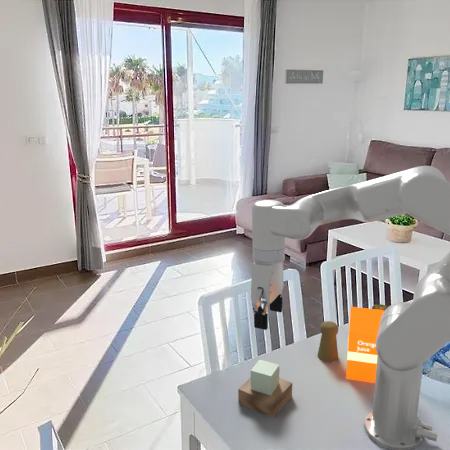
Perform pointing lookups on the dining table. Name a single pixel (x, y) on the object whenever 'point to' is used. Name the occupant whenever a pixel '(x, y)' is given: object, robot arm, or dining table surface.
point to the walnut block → (265, 397)
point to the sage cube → (265, 377)
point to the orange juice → (363, 344)
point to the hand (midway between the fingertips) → (268, 319)
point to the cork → (328, 342)
